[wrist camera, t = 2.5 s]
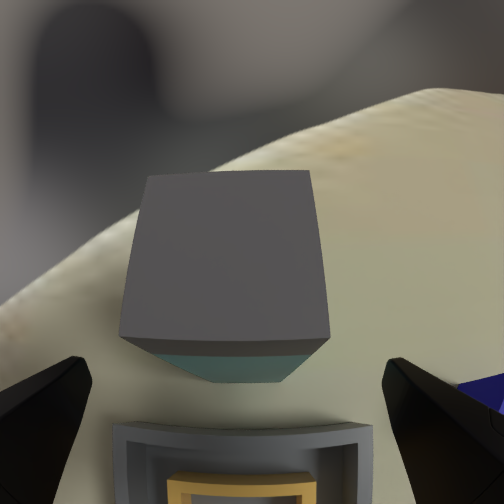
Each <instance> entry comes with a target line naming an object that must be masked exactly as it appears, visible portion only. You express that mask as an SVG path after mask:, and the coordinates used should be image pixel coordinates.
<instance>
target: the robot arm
mask: <svg viewBox="0 0 504 504" xmlns="http://www.w3.org/2000/svg"><path fill="white" fill-rule="evenodd" d="M91 387H92V377H91V374H90V371H89V369H88V366H87V363H86V361H85V359H84V358H82V357H78V356H71V357H69V358H67V359H65V360H63V361H61V362H59V363H57V364H55V365H53V366H51V367H49V368H47V369H45V370H43V371H41V372H39V373H37V374H35V375H33V376H31V377H29V378H27V379H25V380H23V381H21V382H19V383H17V384H15V385H13V386H11V387H9V388H7V389H5V390H3V391H1V392H0V504H53V501H54V498H55V495H56V492H57V489H58V486H59V482H60V479H61V476H62V473H63V471H64V468H65V465H66V462H67V459H68V456H69V454H70V451H71V448H72V445H73V443H74V440H75V437H76V435H77V432H78V430H79V427H80V424H81V421H82V418H83V414H84V411H85V407H86V404H87V400H88V397H89V393H90V390H91ZM382 390H383V394H384V398H385V402H386V406H387V410H388V414H389V419H390V423H391V427H392V430H393V433H394V436H395V439H396V442H397V445H398V448H399V451H400V454H401V457H402V460H403V463H404V466H405V469H406V472H407V475H408V478H409V481H410V484H411V487H412V491H413V494H414V497H415V501H416V504H504V415H503V414H501V413H499V412H498V411H496V410H494V409H492V408H489V407H488V406H487V405H485V404H483V403H481V402H480V401H478V400H476V399H474V398H472V397H471V396H469V395H467V394H465V393H463V392H462V391H460V390H458V389H456V388H455V387H453V386H451V385H449V384H447V383H446V382H444V381H442V380H440V379H439V378H437V377H435V376H433V375H432V374H430V373H428V372H426V371H425V370H423V369H421V368H419V367H418V366H416V365H414V364H412V363H411V362H409V361H407V360H406V359H404V358H401V357H399V358H392V359H389V360H388V362H387V364H386V368H385V371H384V375H383V378H382Z"/></svg>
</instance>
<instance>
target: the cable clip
mask: <svg viewBox="0 0 504 504" xmlns="http://www.w3.org/2000/svg"><path fill="white" fill-rule="evenodd" d="M457 389H458V390H460V391H462V392H463V393H465V394H467V395H469V396H471V397H472V398H474V399H476V400H478V401H480V402H481V403H483V404H485V405H487V406H488V407H489V408H492V409H494V410H496V411H498V412H499V413H501V414H503V415H504V373H502V374H498V375H495V376H491V377H487V378H483V379H479V380H475V381H470V382H466V383H461V384H459V386H458V388H457Z"/></svg>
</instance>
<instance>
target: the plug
mask: <svg viewBox="0 0 504 504" xmlns="http://www.w3.org/2000/svg"><path fill="white" fill-rule="evenodd" d="M119 337H121V338H123V339H125V340H126V341H128V342H130V343H132V344H134V345H136V346H138V347H139V348H141V349H143V350H145V351H147V352H149V353H151V354H153V355H155V356H157V357H159V358H161V359H163V360H165V361H167V362H169V363H171V364H173V365H175V366H177V367H179V368H181V369H184V370H186V371H188V372H190V373H192V374H195V375H197V376H199V377H201V378H204V379H206V380H208V381H210V382H213V383H272V382H281V381H283V380H284V379H285V378H286V377H287V376H288V375H290V374H291V373H292V372H293V371H294V370H295V369H297V368H298V367H299V366H300V365H301V364H302V363H303V362H304V361H306V360H307V359H308V358H309V357H310V356H311V355H312V354H313V353H314V352H316V351H317V350H318V349H319V348H320V347H321V346H322V345H323V344H324V343H325V342H326V341H327V340H328V339H330V338H331V337H330V325H329V314H328V303H327V294H326V284H325V276H324V267H323V259H322V251H321V244H320V236H319V229H318V222H317V215H316V209H315V202H314V196H313V190H312V184H311V178H310V172H309V170H251V171H218V172H198V173H182V174H167V175H155V176H148V178H147V182H146V186H145V190H144V195H143V198H142V203H141V207H140V211H139V215H138V220H137V224H136V229H135V234H134V239H133V244H132V249H131V254H130V260H129V265H128V271H127V277H126V283H125V290H124V297H123V304H122V311H121V319H120V328H119Z"/></svg>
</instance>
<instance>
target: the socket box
mask: <svg viewBox="0 0 504 504" xmlns="http://www.w3.org/2000/svg"><path fill="white" fill-rule="evenodd" d="M113 474H114V490H115V503H116V504H372V487H373V425H368V424H361V423H355V422H349V423H342V424H334V425H325V426H315V427H303V428H287V429H259V430H235V429H206V428H191V427H179V426H169V425H160V424H152V423H145V422H138V421H137V422H126V423H113Z"/></svg>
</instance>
